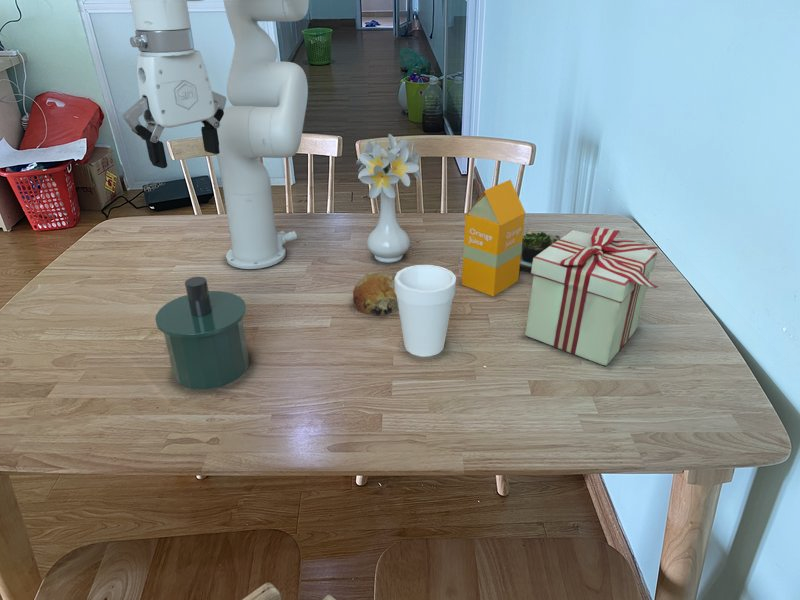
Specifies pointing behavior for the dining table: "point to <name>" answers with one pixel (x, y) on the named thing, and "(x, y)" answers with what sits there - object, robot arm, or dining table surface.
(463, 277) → the orange juice
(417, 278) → the foam cup
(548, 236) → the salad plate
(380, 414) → the dining table surface
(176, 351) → the pot
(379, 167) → the flower vase
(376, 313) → the bread roll
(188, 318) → the lid
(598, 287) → the gift box
